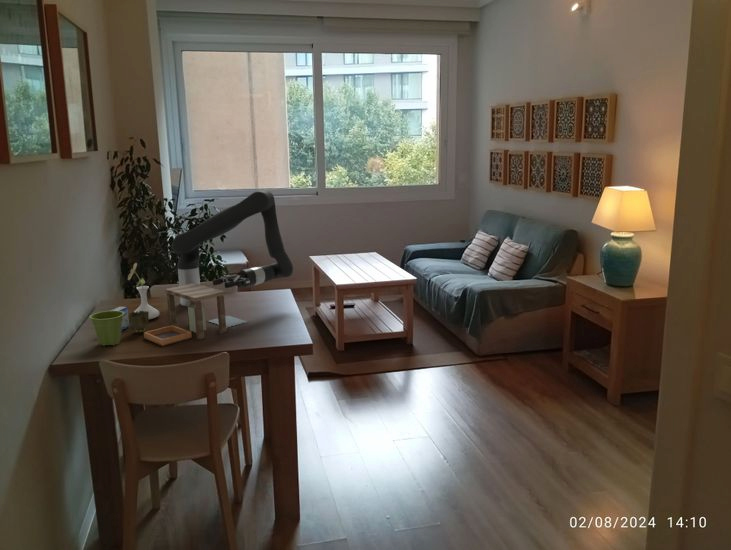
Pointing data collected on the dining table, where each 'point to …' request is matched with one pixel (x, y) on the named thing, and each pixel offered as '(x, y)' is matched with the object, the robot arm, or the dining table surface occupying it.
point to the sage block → (192, 318)
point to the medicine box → (125, 317)
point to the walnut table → (196, 304)
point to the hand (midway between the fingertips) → (219, 284)
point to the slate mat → (229, 321)
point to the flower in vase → (143, 297)
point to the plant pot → (108, 326)
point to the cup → (139, 320)
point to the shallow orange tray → (167, 335)
